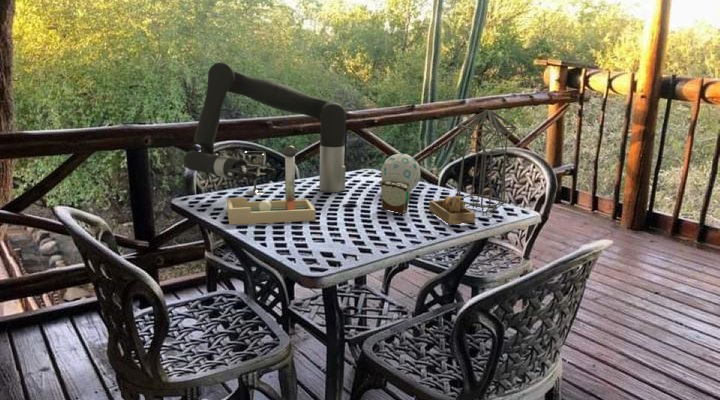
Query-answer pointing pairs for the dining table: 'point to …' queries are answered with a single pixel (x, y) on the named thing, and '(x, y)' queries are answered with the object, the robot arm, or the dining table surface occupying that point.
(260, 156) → the wine glass
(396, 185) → the food container
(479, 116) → the geometric lantern
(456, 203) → the lion figurine
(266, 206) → the ball
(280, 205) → the tray
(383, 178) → the puzzle ball
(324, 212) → the dining table surface
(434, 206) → the figurine crate
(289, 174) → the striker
